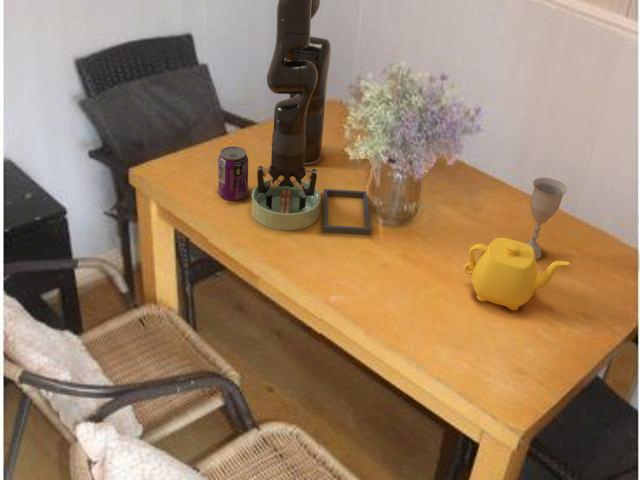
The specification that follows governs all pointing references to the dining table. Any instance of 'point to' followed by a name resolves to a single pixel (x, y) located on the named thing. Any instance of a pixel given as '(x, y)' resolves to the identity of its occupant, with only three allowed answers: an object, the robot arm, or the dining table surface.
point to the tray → (345, 228)
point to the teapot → (507, 272)
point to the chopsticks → (285, 201)
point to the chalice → (544, 206)
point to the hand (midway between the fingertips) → (285, 207)
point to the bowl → (285, 220)
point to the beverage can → (233, 173)
